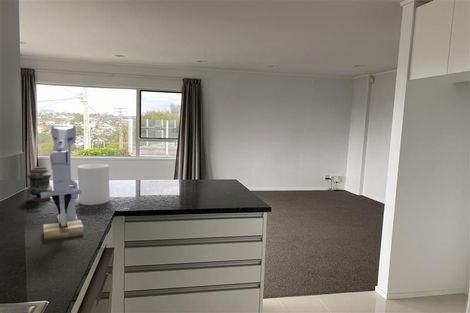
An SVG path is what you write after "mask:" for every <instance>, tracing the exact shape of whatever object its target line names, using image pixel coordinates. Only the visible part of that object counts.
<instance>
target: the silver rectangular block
mask: <svg viewBox="0 0 470 313" xmlns="http://www.w3.org/2000/svg"><path fill="white" fill-rule="evenodd" d="M60 211H61V214H60V221H61V226H66V218H65V207H64V206H60Z"/></svg>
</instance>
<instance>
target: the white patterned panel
mask: <svg viewBox="0 0 470 313" xmlns="http://www.w3.org/2000/svg"><path fill="white" fill-rule="evenodd" d="M122 208H123V209H128V210H129V209H130V207H122ZM123 209H120V210H117V211H118V212H124V211H125V210H123Z"/></svg>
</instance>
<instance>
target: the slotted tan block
mask: <svg viewBox="0 0 470 313" xmlns="http://www.w3.org/2000/svg"><path fill="white" fill-rule="evenodd" d="M42 226H43V227H42V228H43V239H44V241H45V242H47V241H53V240H58V239H64V238H71V237H77V236H78V237H79V236H84V234H85V233H84V230H85V229H84V225H83V222H82V220H81V219H78V220H72V221H66V226H61V222H53V223H45V224H43V225H42Z"/></svg>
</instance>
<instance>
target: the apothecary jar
mask: <svg viewBox="0 0 470 313" xmlns="http://www.w3.org/2000/svg"><path fill="white" fill-rule="evenodd" d="M26 176H27V178H28V179H29V181H30V182H29V187H28V188H27V193H28V194H29V195H32V196H34V197H32V198H31V199H30V201H31V202H46V201H48V200H51V198H52V197H45V198H41V192H49V191H53V186H52V185H51V183H50V178H51V177H52V176H53V173H52V172H51V171H50V170H49V168H48V167H46V166H36V167H35V166H34V167H31V168H30V172H28V174H27V175H26Z"/></svg>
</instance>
